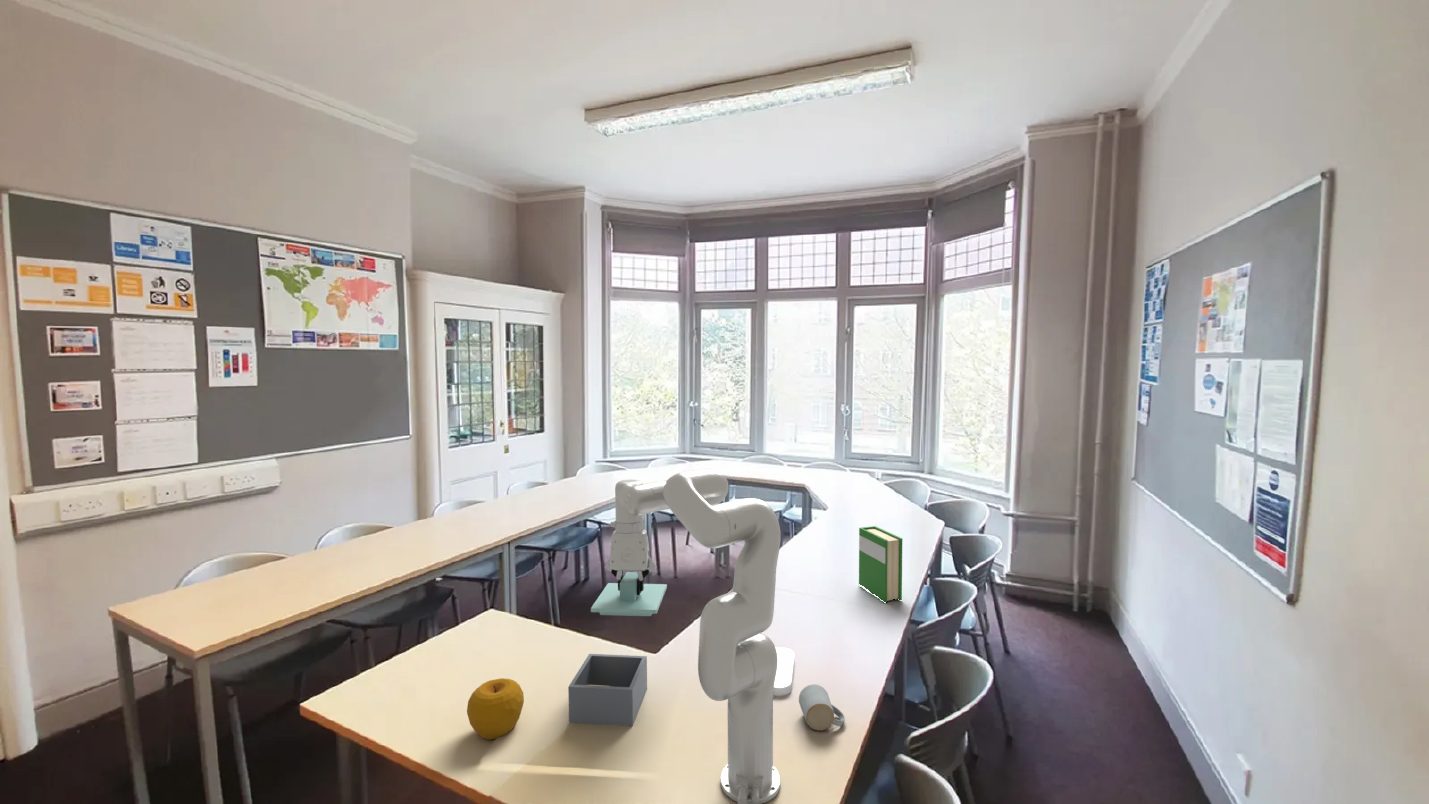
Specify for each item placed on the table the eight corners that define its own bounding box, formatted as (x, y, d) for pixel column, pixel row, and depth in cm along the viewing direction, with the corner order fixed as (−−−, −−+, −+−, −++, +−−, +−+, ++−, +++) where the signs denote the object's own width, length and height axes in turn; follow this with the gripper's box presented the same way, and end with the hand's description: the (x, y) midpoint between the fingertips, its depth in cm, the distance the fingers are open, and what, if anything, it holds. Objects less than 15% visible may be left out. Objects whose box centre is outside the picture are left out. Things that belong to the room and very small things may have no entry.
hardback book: (901, 601, 209) (902, 538, 208) (884, 603, 207) (885, 540, 206) (874, 584, 226) (875, 526, 225) (858, 586, 224) (859, 527, 223)
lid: (656, 619, 141) (656, 590, 141) (590, 617, 142) (590, 589, 142) (666, 592, 158) (666, 567, 158) (608, 591, 159) (607, 565, 159)
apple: (457, 735, 133) (455, 689, 133) (503, 708, 144) (502, 665, 143) (489, 755, 126) (488, 707, 125) (536, 725, 137) (535, 680, 136)
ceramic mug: (805, 734, 133) (806, 702, 132) (798, 713, 141) (798, 683, 141) (849, 732, 134) (849, 701, 133) (839, 711, 142) (839, 682, 141)
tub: (633, 729, 135) (632, 689, 134) (569, 726, 136) (568, 686, 136) (647, 692, 151) (646, 656, 150) (590, 689, 152) (589, 653, 152)
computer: (790, 698, 148) (790, 688, 148) (709, 689, 152) (709, 680, 152) (795, 657, 169) (795, 648, 169) (724, 650, 174) (724, 642, 174)
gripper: (595, 530, 146) (596, 598, 147) (658, 530, 145) (659, 599, 146) (603, 522, 153) (604, 587, 154) (663, 523, 152) (663, 588, 153)
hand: (630, 592), depth 150 cm, fingers closed on lid, 4 cm apart
